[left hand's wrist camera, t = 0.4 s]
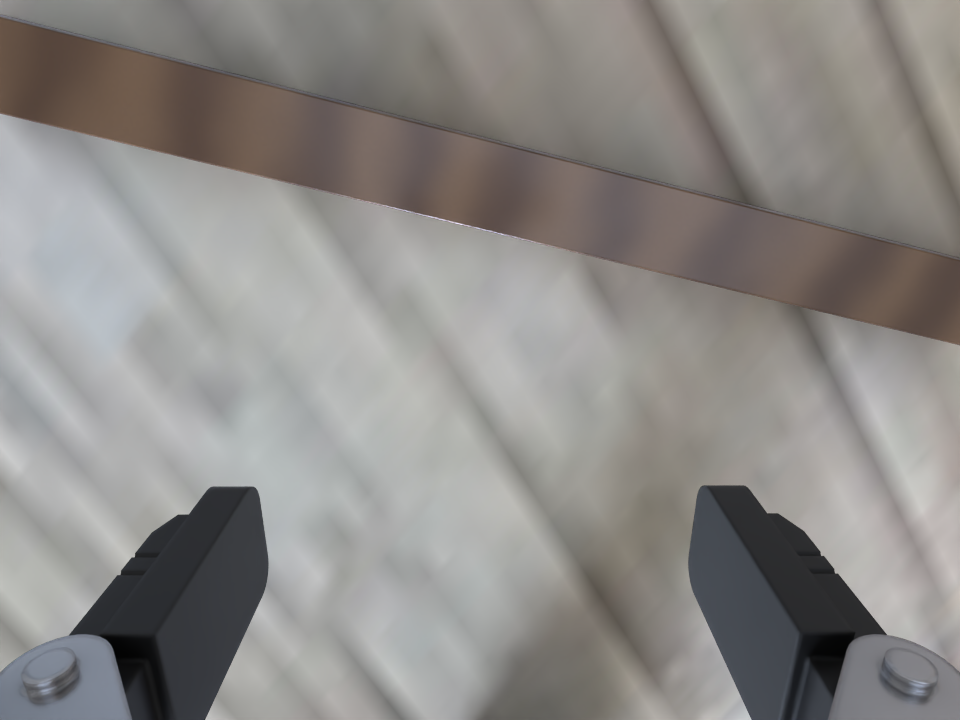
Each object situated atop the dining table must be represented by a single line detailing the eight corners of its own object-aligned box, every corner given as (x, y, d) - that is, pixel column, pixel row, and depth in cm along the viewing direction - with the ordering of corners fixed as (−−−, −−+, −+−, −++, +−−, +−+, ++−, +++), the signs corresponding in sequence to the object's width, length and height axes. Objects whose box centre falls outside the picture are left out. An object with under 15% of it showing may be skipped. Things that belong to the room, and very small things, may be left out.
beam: (976, 262, 38) (1078, 290, 32) (944, 324, 40) (1034, 363, 33) (7, 15, 34) (-106, -11, 27) (8, 96, 35) (-99, 90, 29)
